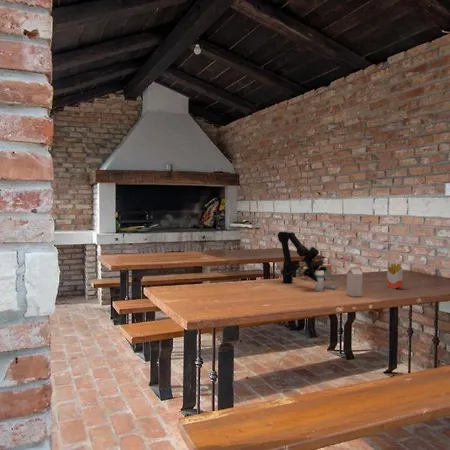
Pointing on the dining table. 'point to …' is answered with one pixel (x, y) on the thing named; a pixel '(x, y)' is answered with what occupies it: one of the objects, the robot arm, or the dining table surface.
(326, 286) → the slate tile
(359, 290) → the milk carton
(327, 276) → the stack of blocks
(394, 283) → the french fries container
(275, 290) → the dining table surface
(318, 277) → the banded post
